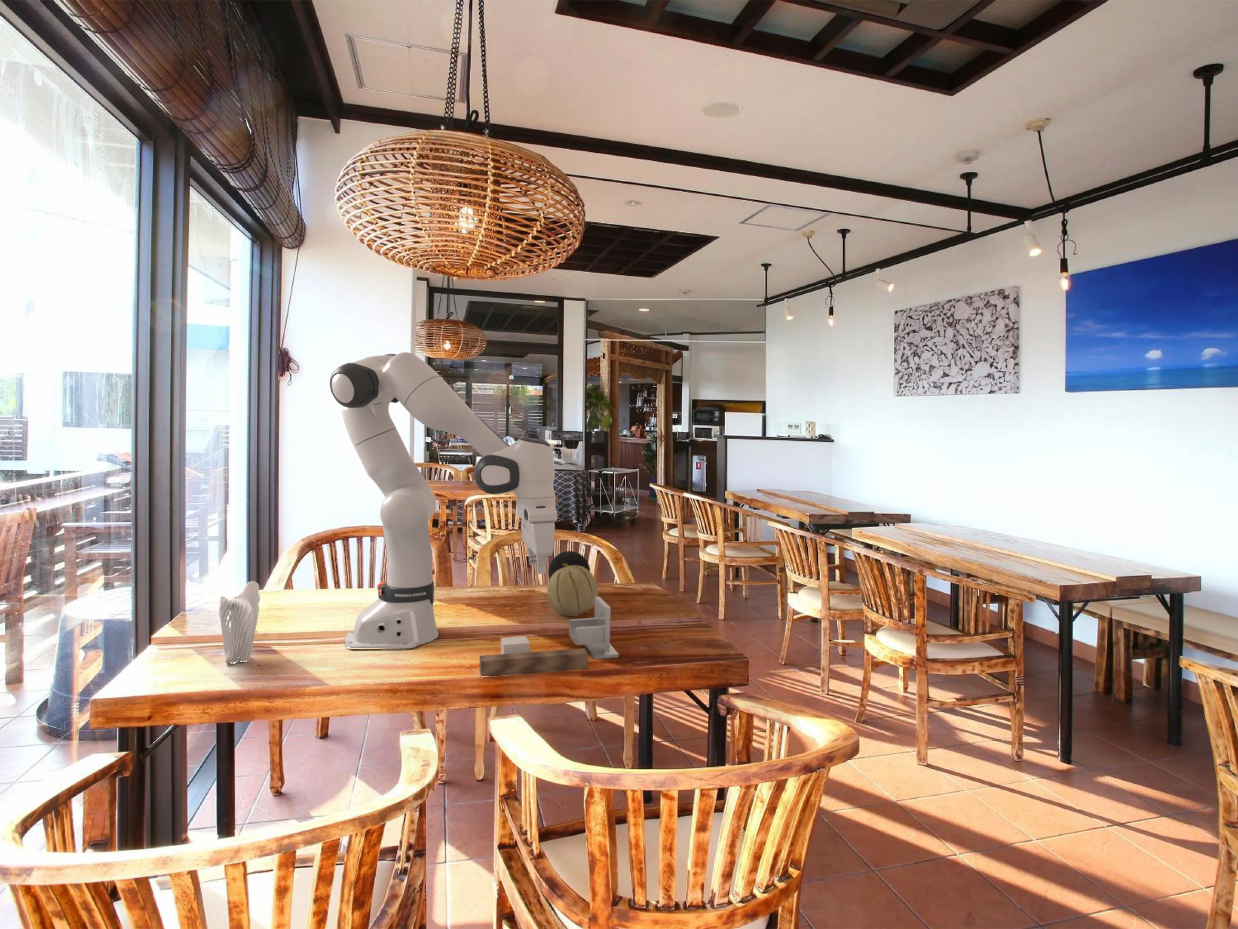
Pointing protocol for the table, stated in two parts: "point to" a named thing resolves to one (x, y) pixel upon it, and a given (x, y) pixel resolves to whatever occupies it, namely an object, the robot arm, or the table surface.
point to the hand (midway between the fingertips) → (537, 568)
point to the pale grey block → (514, 645)
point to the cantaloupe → (572, 590)
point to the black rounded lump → (567, 561)
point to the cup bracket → (594, 632)
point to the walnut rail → (533, 662)
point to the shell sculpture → (239, 622)
